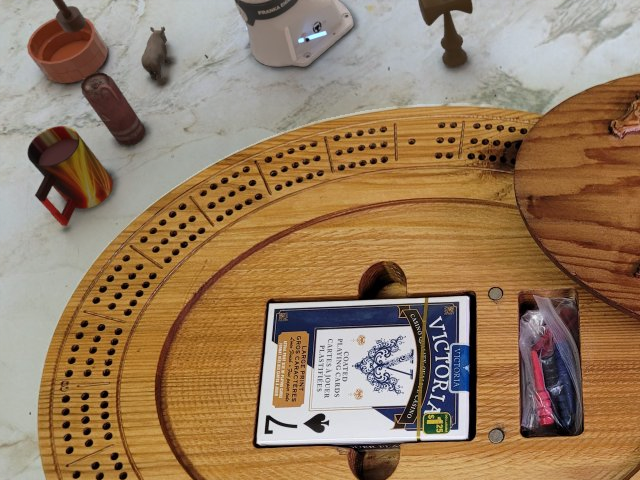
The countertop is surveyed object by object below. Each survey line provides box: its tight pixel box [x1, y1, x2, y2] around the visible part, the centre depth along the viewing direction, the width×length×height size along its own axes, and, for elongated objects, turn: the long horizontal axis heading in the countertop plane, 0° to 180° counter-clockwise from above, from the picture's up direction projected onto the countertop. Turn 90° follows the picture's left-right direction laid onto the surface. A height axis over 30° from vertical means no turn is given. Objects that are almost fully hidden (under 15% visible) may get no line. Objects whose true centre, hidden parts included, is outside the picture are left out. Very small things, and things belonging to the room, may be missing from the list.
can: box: [80, 71, 146, 147], centre depth 160 cm, size 6×6×14 cm
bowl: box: [26, 16, 109, 84], centre depth 174 cm, size 14×14×6 cm
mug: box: [27, 125, 114, 227], centre depth 154 cm, size 10×14×12 cm
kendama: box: [417, 0, 474, 68], centre depth 159 cm, size 6×10×20 cm, turn 110°
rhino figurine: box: [140, 26, 173, 85], centre depth 172 cm, size 4×14×6 cm, turn 1°
